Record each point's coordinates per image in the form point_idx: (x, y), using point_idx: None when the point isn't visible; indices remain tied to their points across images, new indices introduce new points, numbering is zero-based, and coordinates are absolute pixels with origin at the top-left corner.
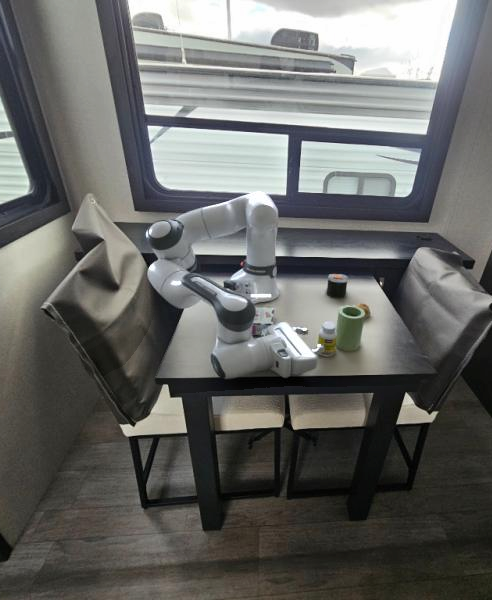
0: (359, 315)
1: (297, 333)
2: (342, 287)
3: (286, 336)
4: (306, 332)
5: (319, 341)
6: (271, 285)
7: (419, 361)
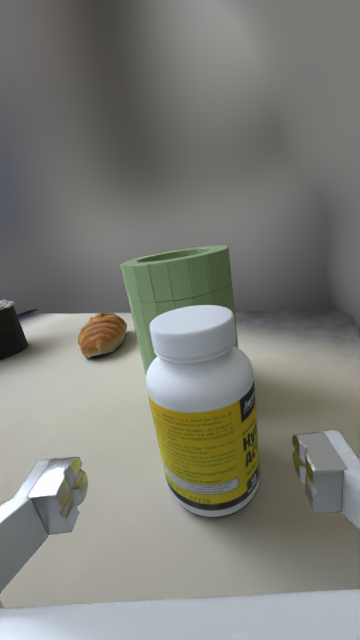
0: (209, 248)
1: (6, 578)
2: (11, 321)
3: None
4: (77, 486)
5: (201, 450)
6: None
7: (313, 312)
